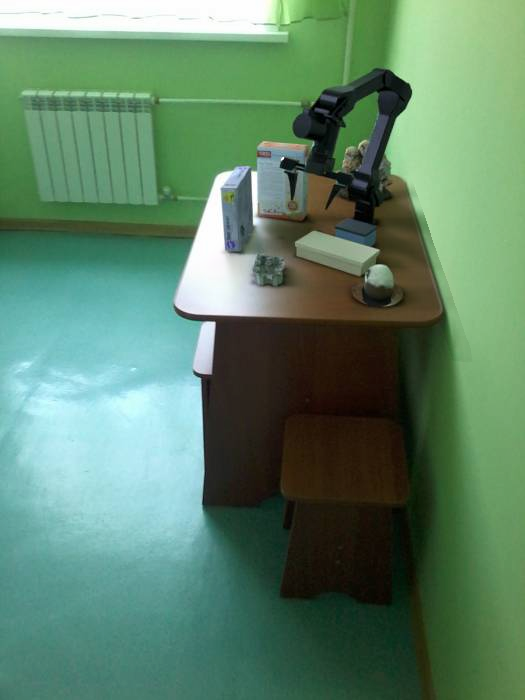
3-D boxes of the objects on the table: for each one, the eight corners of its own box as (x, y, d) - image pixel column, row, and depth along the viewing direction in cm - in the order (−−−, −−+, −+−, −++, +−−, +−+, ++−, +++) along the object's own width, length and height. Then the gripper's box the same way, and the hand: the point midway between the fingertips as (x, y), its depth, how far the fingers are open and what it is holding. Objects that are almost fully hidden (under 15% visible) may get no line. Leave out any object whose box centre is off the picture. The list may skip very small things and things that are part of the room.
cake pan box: (238, 223, 181) (236, 163, 171) (255, 224, 180) (254, 164, 170) (222, 252, 166) (219, 188, 156) (240, 253, 165) (239, 189, 155)
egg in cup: (346, 276, 152) (377, 248, 148) (374, 302, 156) (406, 276, 151) (348, 299, 142) (382, 270, 138) (378, 327, 146) (413, 299, 141)
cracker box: (307, 214, 186) (310, 144, 174) (302, 222, 182) (304, 150, 170) (263, 208, 190) (263, 139, 178) (256, 216, 185) (256, 145, 173)
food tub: (346, 234, 175) (347, 217, 172) (375, 243, 170) (377, 226, 167) (333, 243, 170) (334, 226, 167) (363, 252, 166) (365, 234, 163)
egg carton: (282, 287, 150) (282, 272, 148) (251, 285, 151) (251, 270, 149) (285, 266, 159) (286, 252, 157) (256, 265, 160) (256, 250, 157)
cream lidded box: (313, 243, 170) (313, 230, 168) (378, 263, 160) (380, 249, 158) (294, 255, 164) (295, 241, 162) (361, 277, 154) (362, 262, 152)
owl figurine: (333, 200, 196) (337, 145, 186) (334, 187, 205) (338, 134, 195) (391, 202, 194) (398, 147, 184) (389, 189, 203) (396, 136, 194)
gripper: (282, 134, 149) (267, 198, 155) (358, 153, 146) (340, 218, 152) (291, 134, 159) (276, 194, 165) (361, 152, 157) (344, 213, 162)
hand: (308, 205), depth 161 cm, fingers open, 9 cm apart
